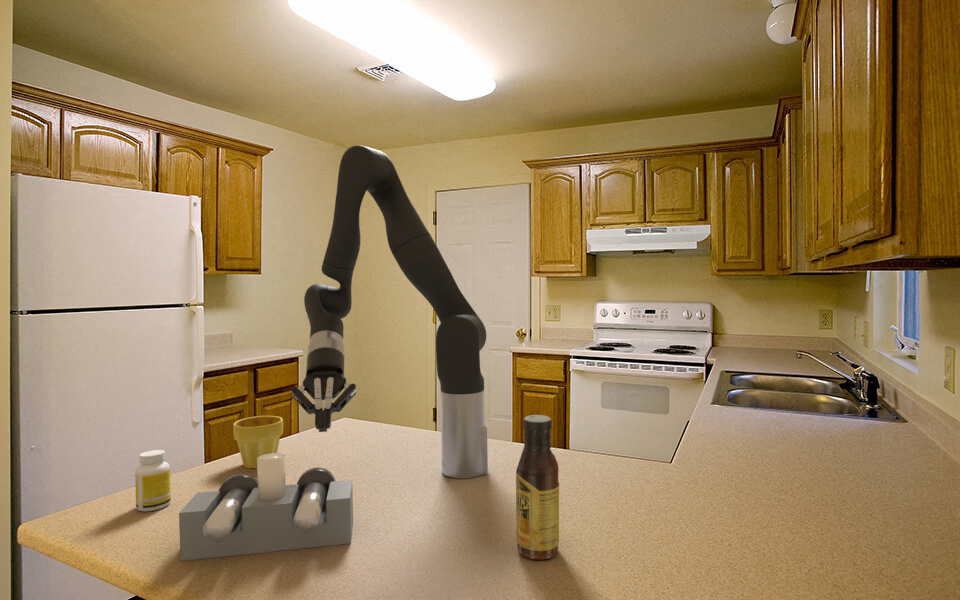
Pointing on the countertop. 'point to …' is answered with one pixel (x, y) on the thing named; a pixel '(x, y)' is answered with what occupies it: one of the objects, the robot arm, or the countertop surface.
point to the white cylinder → (271, 476)
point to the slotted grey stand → (266, 524)
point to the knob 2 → (311, 498)
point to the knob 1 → (229, 506)
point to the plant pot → (257, 437)
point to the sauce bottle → (537, 492)
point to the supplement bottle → (152, 481)
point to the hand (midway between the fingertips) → (322, 429)
